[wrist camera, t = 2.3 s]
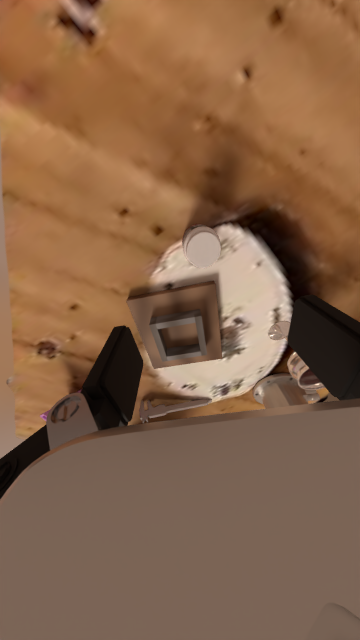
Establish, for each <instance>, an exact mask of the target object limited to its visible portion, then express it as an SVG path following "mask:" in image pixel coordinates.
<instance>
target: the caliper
mask: <svg viewBox="0 0 360 640" xmlns="http://www.w3.org/2000/svg"><path fill="white" fill-rule="evenodd" d="M211 401H212V399H209V400H207V399H201V400H196V401H191V402H186V403H181V404H176V405H170V406H165V405H164V404H162V405H158V406H156V407H154V408H153V407H152V405H151V403H150V401H149V400H148V410H146V411H144V402H143V401H141V405H140V419H141V420H143V424H144V422H145V419H146V421H147V422H148V417H149V418H154V417H159V416H163V415H166V413H170V412H175V411H180V410H185V409H190V408H195V407H200V406H205V405H208V403H211Z"/></svg>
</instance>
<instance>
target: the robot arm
mask: <svg viewBox="0 0 360 640" xmlns="http://www.w3.org/2000/svg"><path fill="white" fill-rule="evenodd" d="M287 341H288V344H289V345H290V346H291V347H292V349H293V350H294V351H295V352H296V353H297V354H298V356H299V357H300V358H301V359H302V360H303V361H304V363H305V364H306V365H307V366H308V367H309V369H310V370H311V371H312V372H313V373H314V374H315V376H316V377H317V378H318V379H319V380H320V381H321V383H322V384H323V385H324V386H325V387H326V388H327V390H328V391H329V392H330V393H331V394H332V395H333V396H334V397H337V398H338V399H339V400H340V401H332V402H322V403H313V404H308V401H310V400H311V401H313V400H319V399H320V396H319V394H318V393H317V392H316V390H306V389H303V388H301V387H300V386H299V385H298V381H297V380H295V379H294V378H293V377H292V376H291V374H287V373H280V374H274V375H271V376H268V377H266V378H264V379H262V380H261V381H259V382H258V383H257V384H256V385H255V387H254V389H253V396H254V398H255V400H256V401H258V402H259V403H261V404H264V406H265V408H266V409H260V410H251V411H243V412H234V413H225V414H217V415H208V416H200V417H192V418H184V419H175V420H167V421H159V422H151V423H144V424H137V425H129V426H127V425H128V422H129V421H131V419H132V415H133V410H134V406H135V401H136V396H137V392H138V387H139V382H140V378H141V373H142V368H143V359H142V357H141V355H140V352H139V350H138V347H137V345H136V343H135V340H134V338H133V336H132V333H131V331H130V329H129V328H128V327H127V328H126V326H118V327H114V328H113V330H112V332H111V334H110V336H109V338H108V340H107V341H106V343H105V345H104V347H103V349H102V351H101V353H100V355H99V356H98V358H97V360H96V362H95V364H94V366H93V368H92V370H91V371H90V373H89V375H88V377H87V379H86V381H85V383H84V385H83V386H82V387H83V388H82V390H81V392H80V393H72V394H69V395H67V396H65V397H63V398H62V399H61V400H59V401H58V402H57V403H56V404H55V405H54V406H53V407H52V409H51V410H50V411H49V413H48V416H47V419H46V425H45V426H44V427H42V428H41V429H40V430H38V431H37V432H36V433H34V434H33V435H32V436H30V437H29V438H28V439H26V440H25V441H24V442H22V443H21V444H20V445H18V446H17V447H16V448H14V449H13V450H12V451H10V452H9V453H8V454H6V455H5V456H4V457H2V458H1V459H0V640H360V322H358V321H356V320H355V319H353V318H351V317H350V316H348V315H346V314H345V313H343V312H341V311H340V310H338V309H336V308H335V307H333V306H332V305H330V304H328V303H327V302H325V301H323V300H322V299H320V298H318V297H317V296H315V295H307V296H301V297H299V298H298V300H296V301H295V305H294V309H293V314H292V319H291V323H290V328H289V333H288V337H287Z"/></svg>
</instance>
